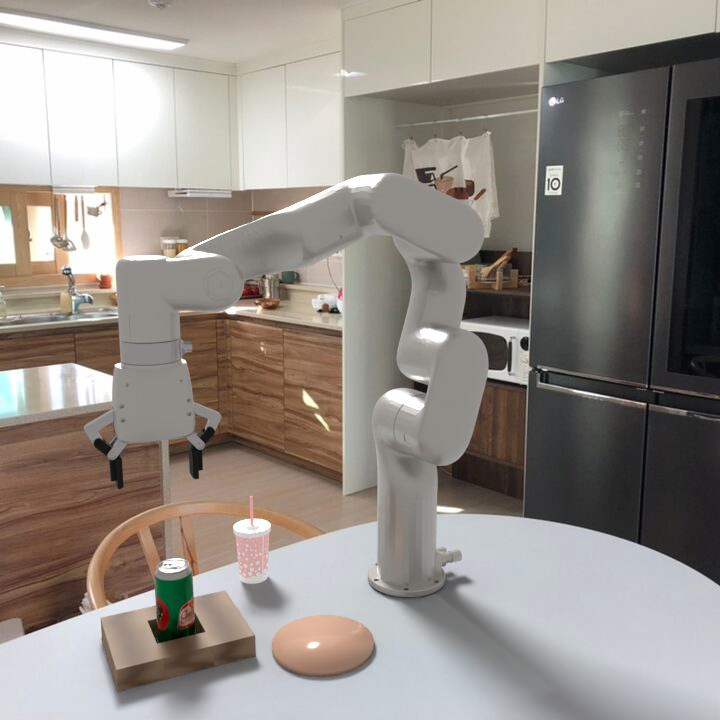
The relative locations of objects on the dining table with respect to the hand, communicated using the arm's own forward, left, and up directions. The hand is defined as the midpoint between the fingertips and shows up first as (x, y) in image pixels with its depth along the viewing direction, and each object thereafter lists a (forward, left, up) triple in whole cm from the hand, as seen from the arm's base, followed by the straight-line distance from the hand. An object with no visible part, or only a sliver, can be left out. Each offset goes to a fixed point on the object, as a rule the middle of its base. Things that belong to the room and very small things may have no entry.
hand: (157, 480), depth 101 cm
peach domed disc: (-19, +9, -24) cm, 32 cm away
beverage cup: (-17, -15, -24) cm, 33 cm away
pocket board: (-1, 0, -24) cm, 24 cm away
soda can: (-1, 0, -24) cm, 24 cm away
